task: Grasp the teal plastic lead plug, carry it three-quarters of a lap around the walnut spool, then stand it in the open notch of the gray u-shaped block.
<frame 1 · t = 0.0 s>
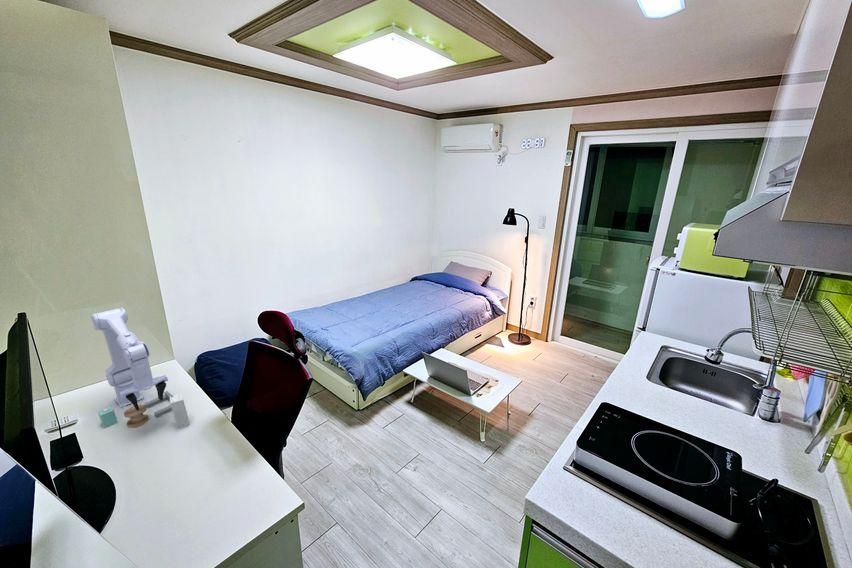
hand: (149, 404, 135), 10 cm above the table, fingers open, 7 cm apart
spool: (138, 421, 140), on the table
skincare box: (182, 423, 139), on the table
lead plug: (109, 423, 138), on the table
gray u-shaped block: (161, 407, 148), on the table
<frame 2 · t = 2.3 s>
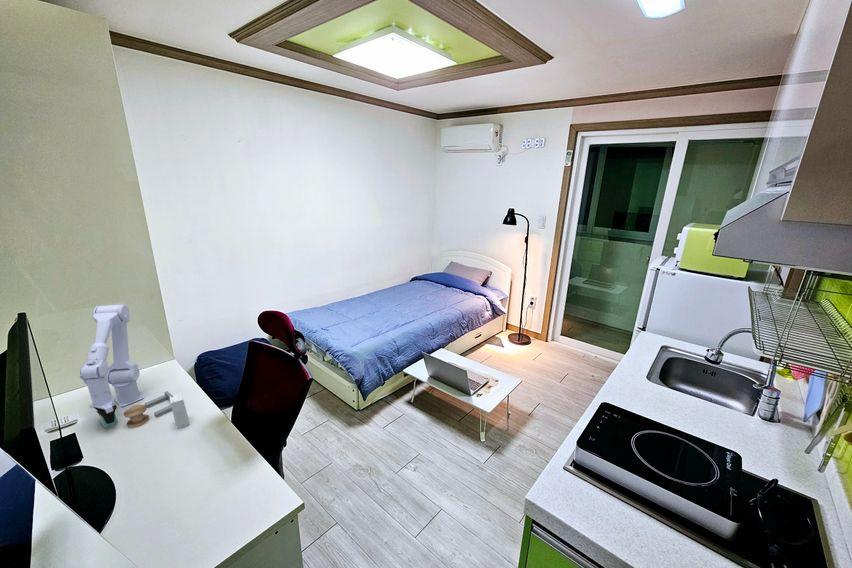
hand: (108, 420, 138), 1 cm above the table, fingers closed on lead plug, 4 cm apart
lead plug: (109, 423, 138), on the table, touching gripper
everything else where it was.
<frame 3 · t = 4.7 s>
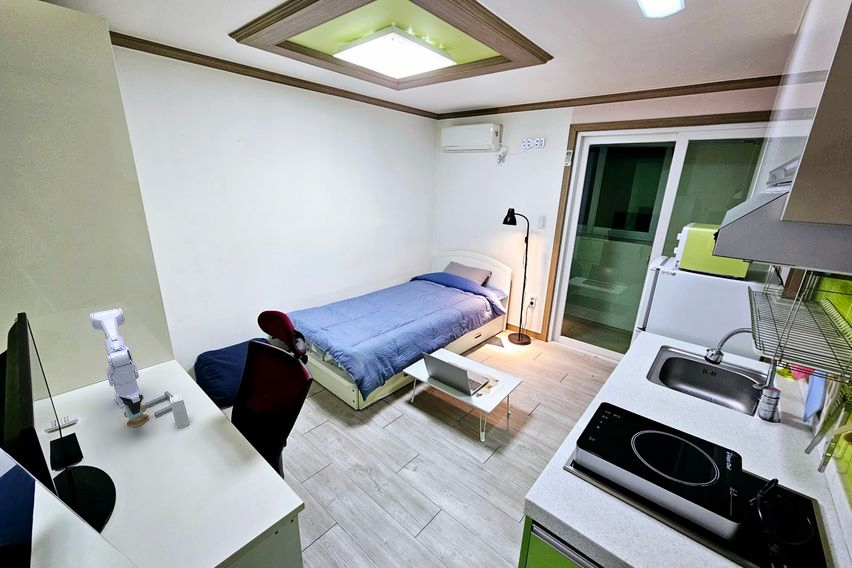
hand: (134, 410, 132), 9 cm above the table, fingers closed on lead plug, 4 cm apart
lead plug: (134, 414, 132), point 8 cm above the table, touching gripper
everything else where it was.
when the fingers open (3 cm above the table, at t = 7.4 s): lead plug drops 1 cm, on the table.
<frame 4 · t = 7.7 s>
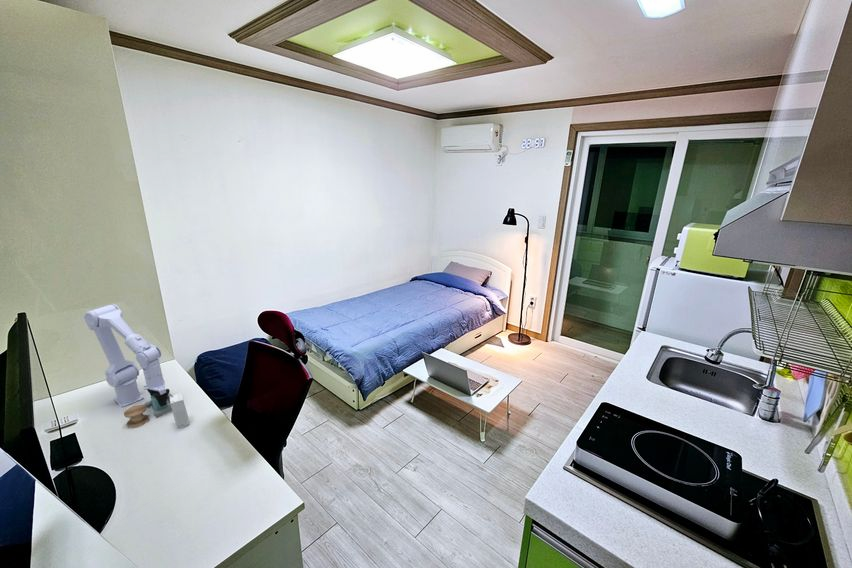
hand: (160, 402, 147), 3 cm above the table, fingers open, 7 cm apart
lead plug: (160, 407, 148), on the table
everything else where it was.
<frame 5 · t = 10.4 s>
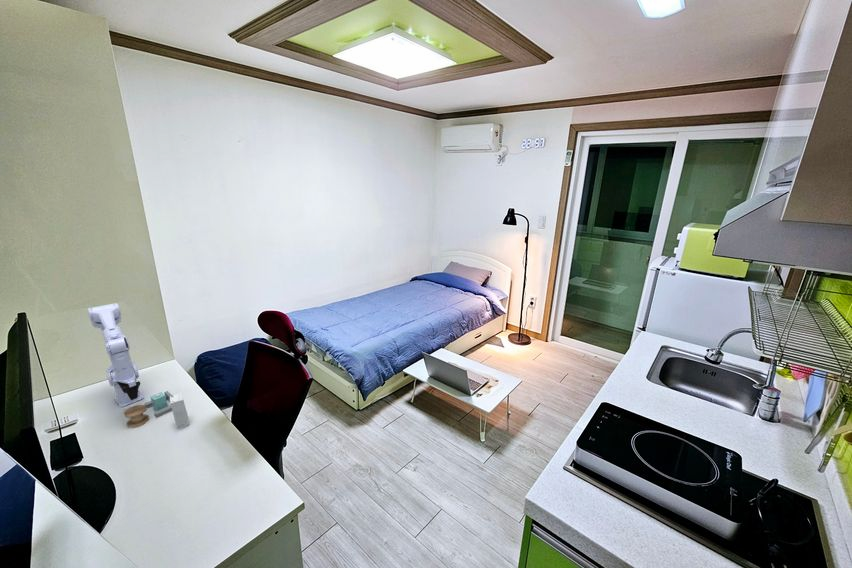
hand: (130, 395, 141), 9 cm above the table, fingers open, 7 cm apart
nothing on the table moved.
at the end: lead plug 0.2 cm off-centre on the gray u-shaped block, point 0.0 cm above the gray u-shaped block's base; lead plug tilted 0°; the gripper is holding nothing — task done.
